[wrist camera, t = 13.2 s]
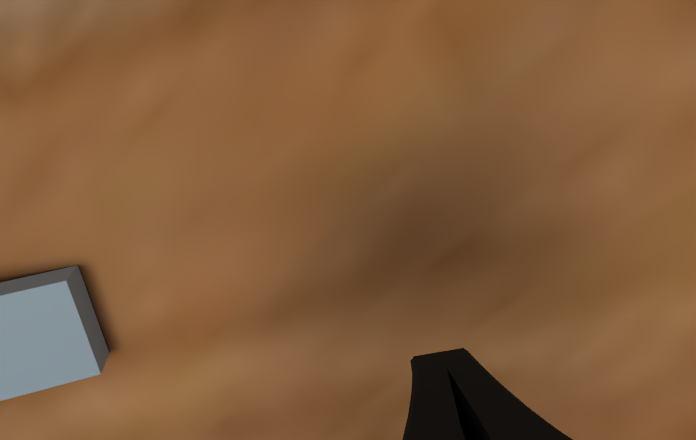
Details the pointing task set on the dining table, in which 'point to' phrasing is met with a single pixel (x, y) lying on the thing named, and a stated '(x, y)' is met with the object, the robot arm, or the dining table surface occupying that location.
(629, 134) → the dining table surface
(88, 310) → the slate tile
